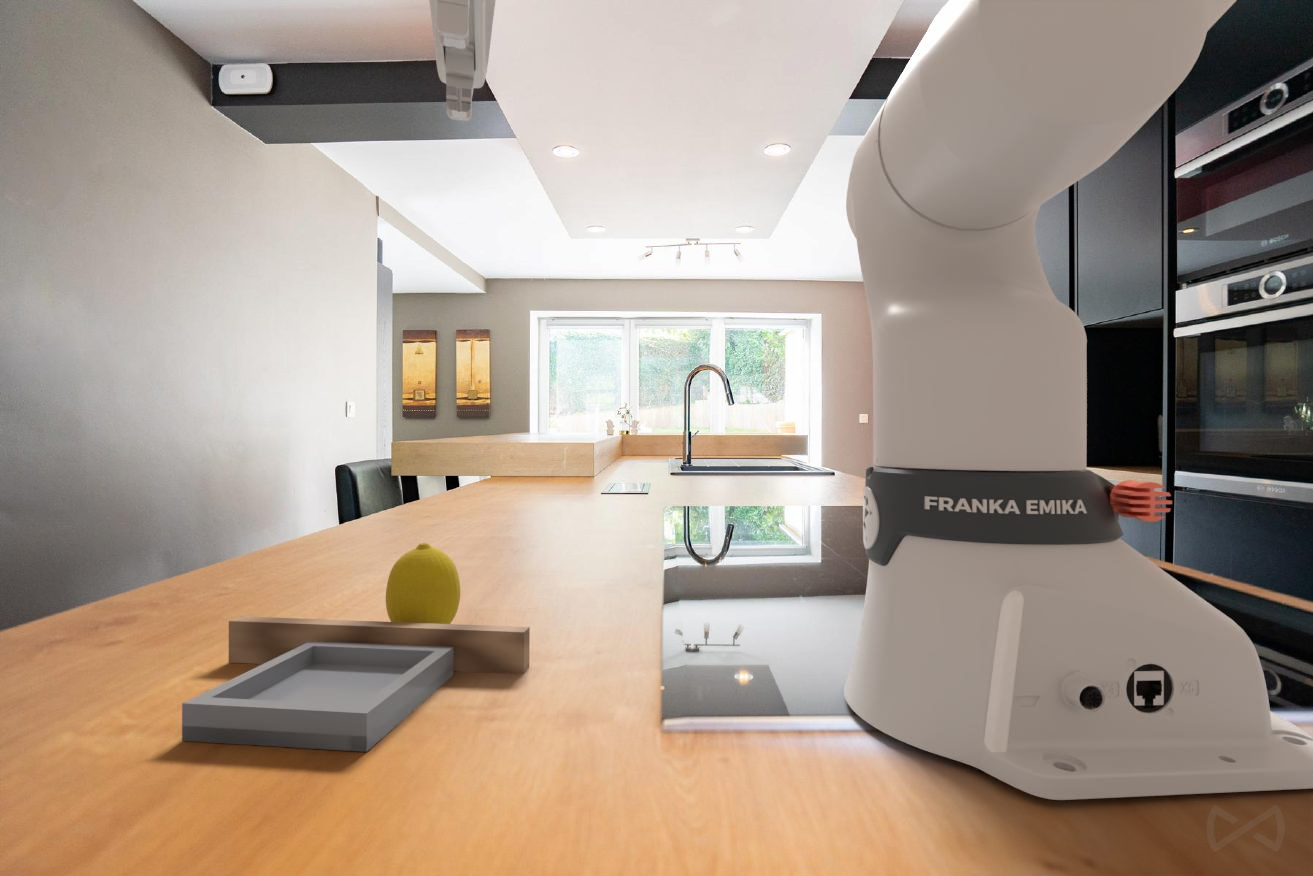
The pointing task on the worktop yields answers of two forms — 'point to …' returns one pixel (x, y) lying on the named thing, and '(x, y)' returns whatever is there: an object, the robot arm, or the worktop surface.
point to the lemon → (423, 587)
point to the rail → (383, 640)
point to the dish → (320, 696)
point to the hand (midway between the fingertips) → (456, 82)
